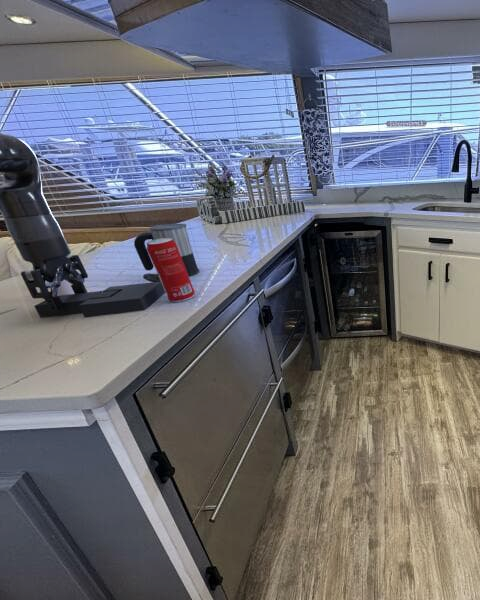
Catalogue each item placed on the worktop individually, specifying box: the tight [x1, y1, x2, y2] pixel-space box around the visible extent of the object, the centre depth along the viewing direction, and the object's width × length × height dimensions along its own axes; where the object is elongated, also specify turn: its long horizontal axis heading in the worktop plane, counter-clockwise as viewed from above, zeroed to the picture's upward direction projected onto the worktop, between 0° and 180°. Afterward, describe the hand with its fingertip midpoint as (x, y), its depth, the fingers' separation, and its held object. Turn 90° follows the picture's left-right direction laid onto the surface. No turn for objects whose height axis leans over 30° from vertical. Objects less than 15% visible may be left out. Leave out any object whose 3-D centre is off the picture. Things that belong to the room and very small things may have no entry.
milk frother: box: [133, 223, 200, 283], centre depth 93 cm, size 14×16×15 cm
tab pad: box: [33, 290, 119, 319], centre depth 76 cm, size 14×6×3 cm, turn 104°
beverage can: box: [146, 238, 196, 303], centre depth 77 cm, size 6×6×15 cm
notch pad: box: [79, 281, 166, 318], centre depth 78 cm, size 12×12×3 cm
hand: (71, 304), depth 76 cm, fingers open, 8 cm apart
